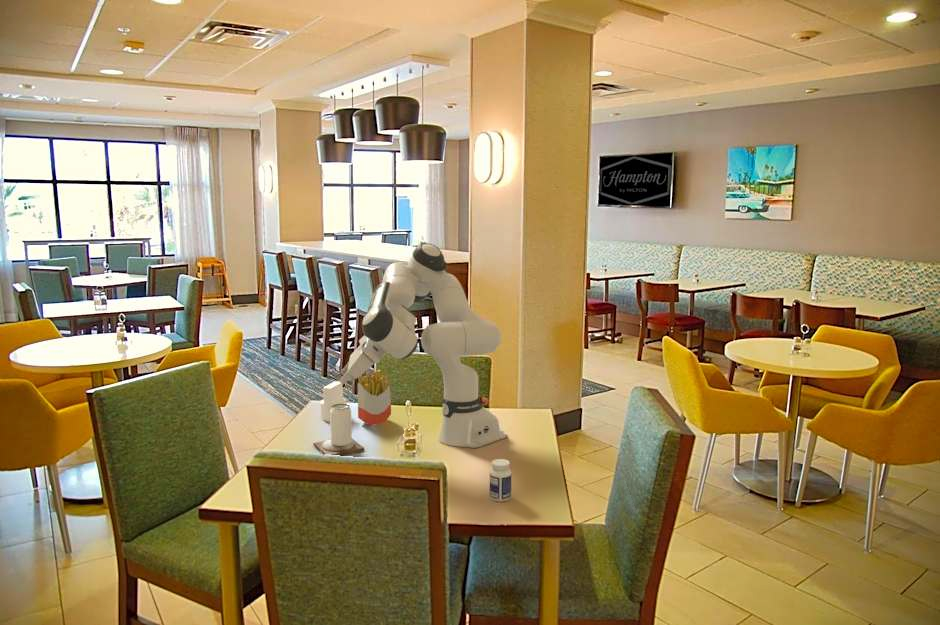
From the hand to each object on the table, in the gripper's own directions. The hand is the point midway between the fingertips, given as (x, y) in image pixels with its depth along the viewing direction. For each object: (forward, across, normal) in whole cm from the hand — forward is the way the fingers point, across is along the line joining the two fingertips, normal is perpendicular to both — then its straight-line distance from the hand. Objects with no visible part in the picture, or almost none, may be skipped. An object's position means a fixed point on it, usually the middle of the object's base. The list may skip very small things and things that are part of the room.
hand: (341, 378), depth 212 cm
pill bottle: (-15, +43, +46) cm, 64 cm away
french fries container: (+9, -20, +23) cm, 32 cm away
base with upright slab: (+19, -28, +12) cm, 36 cm away
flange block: (+17, +3, +14) cm, 22 cm away
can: (+15, +3, +14) cm, 21 cm away
